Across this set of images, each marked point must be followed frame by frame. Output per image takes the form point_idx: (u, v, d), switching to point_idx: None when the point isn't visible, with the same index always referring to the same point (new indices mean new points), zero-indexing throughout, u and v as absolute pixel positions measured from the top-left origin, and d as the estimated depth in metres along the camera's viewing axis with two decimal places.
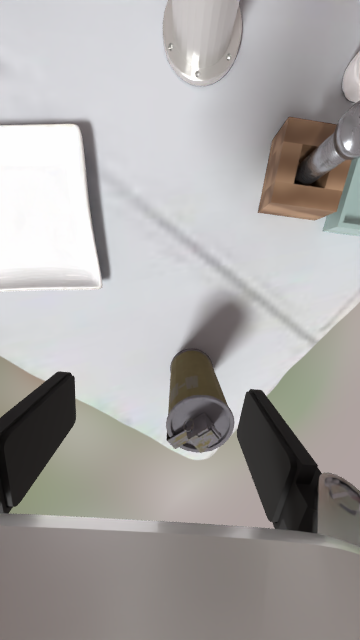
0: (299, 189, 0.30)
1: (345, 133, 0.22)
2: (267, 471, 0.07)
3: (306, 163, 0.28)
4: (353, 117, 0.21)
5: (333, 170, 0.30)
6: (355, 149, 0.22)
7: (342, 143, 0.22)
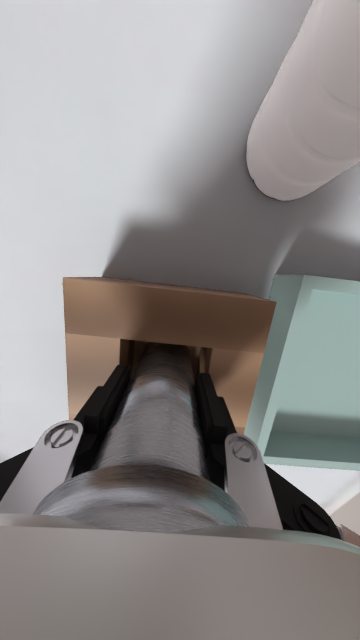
0: None
1: None
2: None
3: None
4: None
5: None
6: None
7: None
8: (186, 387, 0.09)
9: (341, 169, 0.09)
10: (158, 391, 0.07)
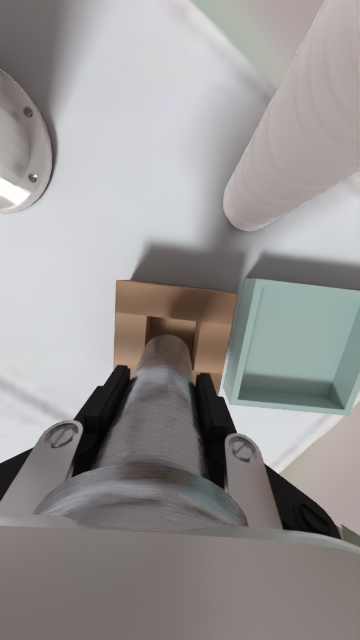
0: None
1: None
2: None
3: None
4: None
5: (202, 348, 0.19)
6: None
7: None
8: (187, 387, 0.09)
9: (271, 220, 0.17)
10: (158, 391, 0.07)
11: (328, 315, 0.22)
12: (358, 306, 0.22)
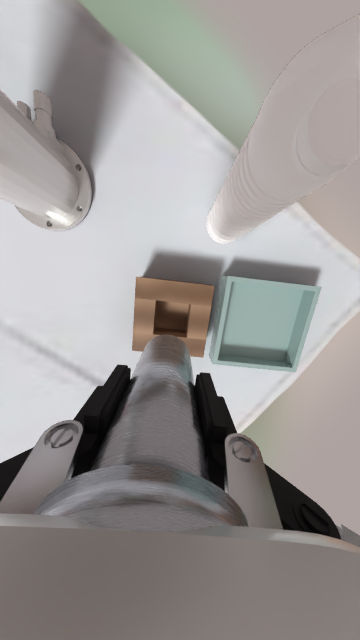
0: None
1: None
2: None
3: None
4: None
5: (192, 322, 0.28)
6: None
7: None
8: (187, 387, 0.09)
9: (235, 238, 0.26)
10: (158, 391, 0.07)
11: (281, 301, 0.32)
12: (301, 295, 0.32)
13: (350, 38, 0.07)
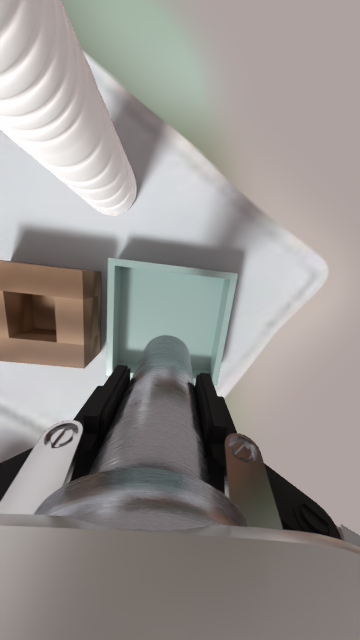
0: (20, 344, 0.21)
1: None
2: None
3: None
4: None
5: (60, 321, 0.21)
6: None
7: None
8: (187, 388, 0.09)
9: (107, 203, 0.19)
10: (158, 392, 0.07)
11: (196, 294, 0.25)
12: (222, 286, 0.24)
13: None
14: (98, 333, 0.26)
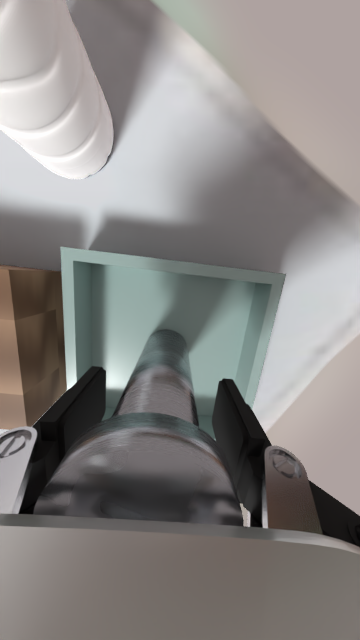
0: None
1: None
2: (229, 449, 0.07)
3: None
4: (73, 512, 0.04)
5: None
6: None
7: None
8: (183, 371, 0.10)
9: (50, 142, 0.10)
10: (160, 372, 0.09)
11: (211, 307, 0.16)
12: (252, 294, 0.15)
13: None
14: (60, 365, 0.17)
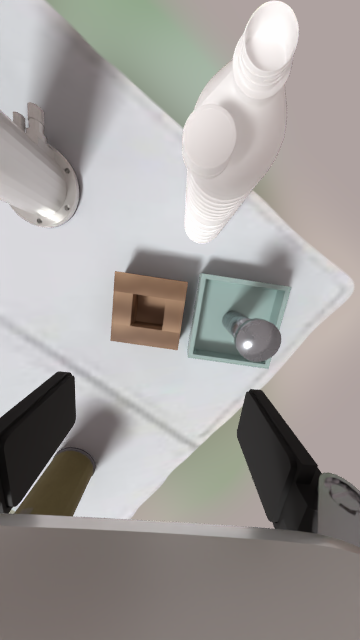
0: (136, 330, 0.31)
1: (240, 346, 0.23)
2: (267, 471, 0.07)
3: (228, 326, 0.30)
4: (246, 334, 0.22)
5: (167, 315, 0.30)
6: (252, 358, 0.23)
7: (239, 352, 0.23)
8: None
9: (208, 238, 0.28)
10: (248, 318, 0.27)
11: (255, 300, 0.34)
12: (275, 295, 0.33)
13: (229, 72, 0.09)
14: None
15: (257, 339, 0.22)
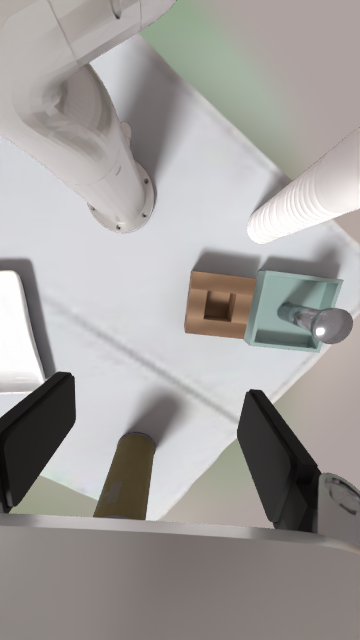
0: (209, 323, 0.35)
1: (318, 331, 0.27)
2: (267, 471, 0.07)
3: (291, 316, 0.34)
4: (324, 321, 0.27)
5: (236, 309, 0.34)
6: (327, 341, 0.27)
7: (316, 336, 0.27)
8: None
9: (275, 239, 0.32)
10: None
11: (307, 293, 0.38)
12: (325, 287, 0.38)
13: None
14: None
15: (333, 324, 0.27)
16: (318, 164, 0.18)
